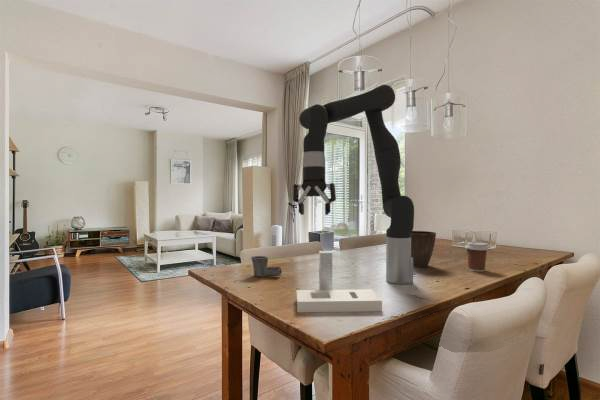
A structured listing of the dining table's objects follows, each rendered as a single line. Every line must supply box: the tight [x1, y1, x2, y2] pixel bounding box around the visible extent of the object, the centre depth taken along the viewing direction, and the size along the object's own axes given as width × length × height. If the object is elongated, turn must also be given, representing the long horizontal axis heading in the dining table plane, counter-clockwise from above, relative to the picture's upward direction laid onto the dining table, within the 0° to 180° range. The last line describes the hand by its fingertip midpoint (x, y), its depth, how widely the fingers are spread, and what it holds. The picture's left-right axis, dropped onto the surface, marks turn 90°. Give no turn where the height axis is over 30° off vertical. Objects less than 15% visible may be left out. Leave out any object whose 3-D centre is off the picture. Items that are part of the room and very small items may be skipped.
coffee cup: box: [465, 241, 489, 273], centre depth 140 cm, size 9×9×12 cm
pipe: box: [250, 255, 282, 278], centre depth 129 cm, size 6×13×8 cm, turn 78°
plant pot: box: [411, 230, 437, 268], centre depth 150 cm, size 15×15×16 cm
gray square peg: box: [318, 250, 333, 290], centre depth 106 cm, size 4×4×14 cm
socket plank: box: [296, 288, 383, 313], centre depth 94 cm, size 24×11×3 cm, turn 92°
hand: (314, 214), depth 105 cm, fingers open, 8 cm apart
